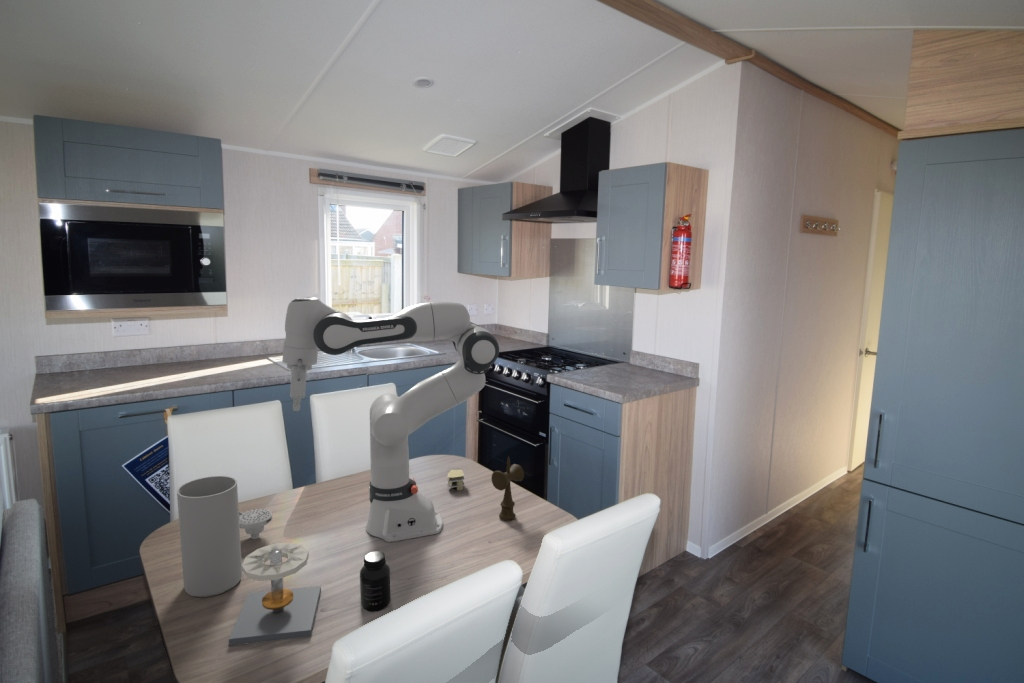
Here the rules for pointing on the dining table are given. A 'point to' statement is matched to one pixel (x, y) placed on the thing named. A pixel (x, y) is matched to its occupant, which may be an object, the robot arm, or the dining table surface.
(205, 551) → the cylinder vase
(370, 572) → the supplement bottle
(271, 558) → the silver and orange rod
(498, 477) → the kendama
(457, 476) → the beige blocky piece
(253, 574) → the silicone ring
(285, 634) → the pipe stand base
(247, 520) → the showerhead
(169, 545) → the dining table surface
